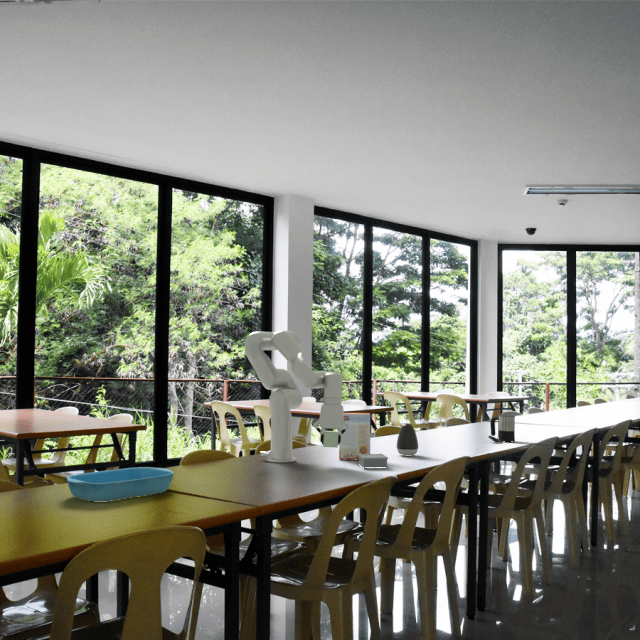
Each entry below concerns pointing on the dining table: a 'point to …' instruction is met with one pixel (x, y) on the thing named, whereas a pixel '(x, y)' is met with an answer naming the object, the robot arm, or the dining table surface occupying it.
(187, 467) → the dining table surface
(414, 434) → the dark grey rounded piece
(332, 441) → the green cube
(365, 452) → the cracker box
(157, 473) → the casserole dish
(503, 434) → the milk frother
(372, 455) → the grey storage box
